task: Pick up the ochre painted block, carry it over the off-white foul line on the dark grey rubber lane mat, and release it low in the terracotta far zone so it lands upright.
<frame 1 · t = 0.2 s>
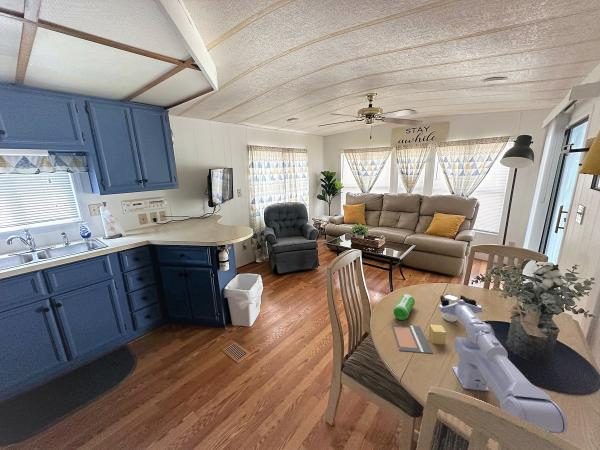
hand: (451, 297, 104), 21 cm above the table, tool horizontal, fingers open, 7 cm apart
lane mat: (410, 338, 111), on the table
can: (449, 318, 125), on the table
block: (436, 340, 110), on the table
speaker: (404, 313, 131), on the table
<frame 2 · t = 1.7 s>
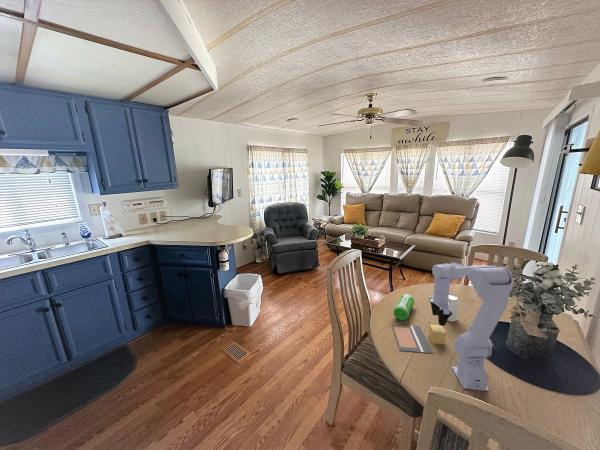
hand: (438, 319, 107), 10 cm above the table, tool pointing down, fingers open, 7 cm apart
nothing on the table moved.
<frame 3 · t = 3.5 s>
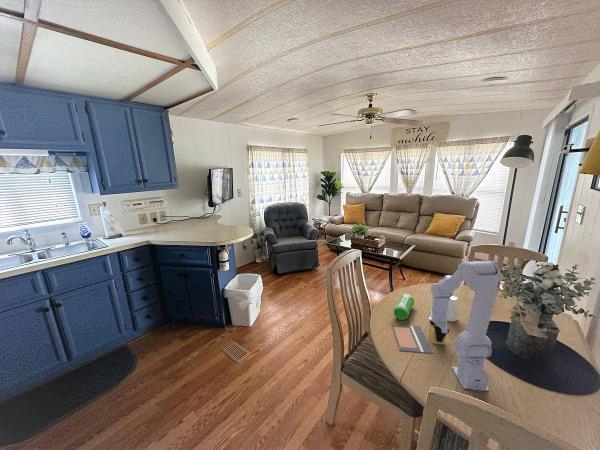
hand: (436, 337, 109), 1 cm above the table, tool pointing down, fingers closed on block, 5 cm apart
block: (436, 340, 110), on the table, touching gripper
everything else where it was.
when the fingers open (3 cm above the table, at t = 7.1 s): block drops 2 cm, resting on lane mat.
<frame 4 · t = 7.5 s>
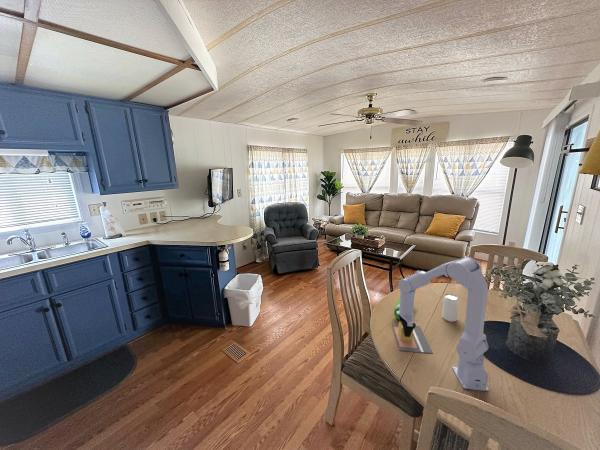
hand: (405, 330, 111), 3 cm above the table, tool pointing down, fingers open, 7 cm apart
block: (405, 336, 112), resting on lane mat
everything else where it was.
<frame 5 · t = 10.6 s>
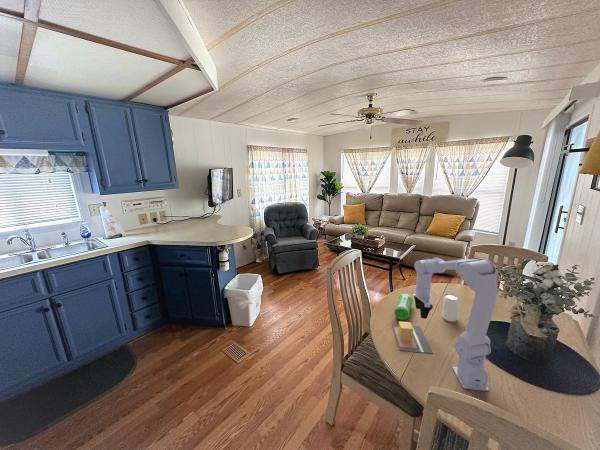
hand: (421, 313, 112), 10 cm above the table, tool pointing down, fingers open, 7 cm apart
nothing on the table moved.
at the end: block inside the target area (0.4 cm from its centre), resting on lane mat; block tilted 0°; the gripper is holding nothing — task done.
